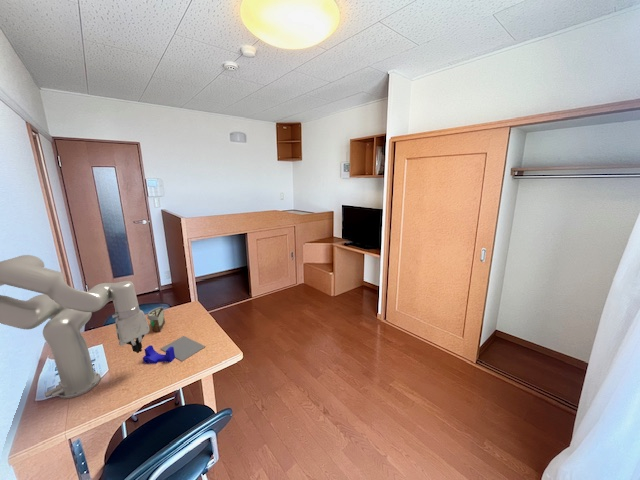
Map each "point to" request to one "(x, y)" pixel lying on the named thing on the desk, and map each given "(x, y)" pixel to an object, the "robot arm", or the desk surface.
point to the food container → (157, 319)
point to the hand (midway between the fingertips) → (138, 351)
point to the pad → (184, 348)
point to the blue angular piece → (158, 355)
